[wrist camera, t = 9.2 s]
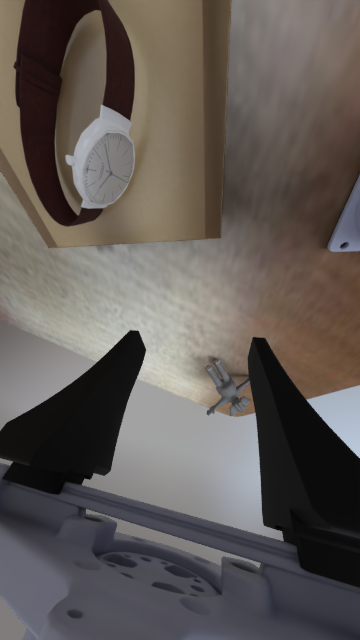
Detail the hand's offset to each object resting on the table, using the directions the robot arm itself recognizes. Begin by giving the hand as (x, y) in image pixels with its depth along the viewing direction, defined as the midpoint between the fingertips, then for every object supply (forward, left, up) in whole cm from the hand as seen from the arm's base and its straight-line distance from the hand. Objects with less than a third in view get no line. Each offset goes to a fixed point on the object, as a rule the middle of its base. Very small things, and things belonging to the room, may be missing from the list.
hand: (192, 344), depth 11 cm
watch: (+5, -10, -5) cm, 12 cm away
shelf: (+5, -10, -9) cm, 15 cm away
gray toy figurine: (-3, +19, -10) cm, 21 cm away
